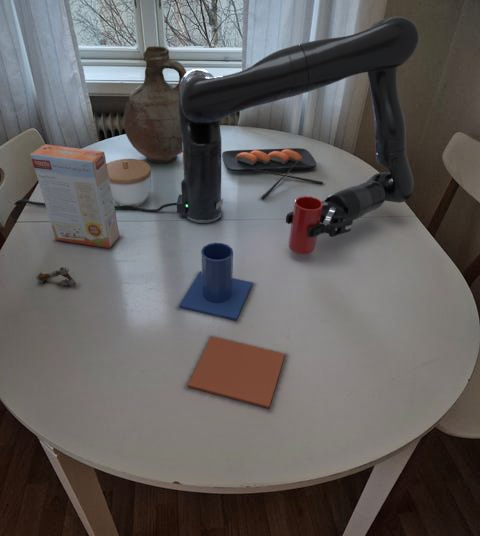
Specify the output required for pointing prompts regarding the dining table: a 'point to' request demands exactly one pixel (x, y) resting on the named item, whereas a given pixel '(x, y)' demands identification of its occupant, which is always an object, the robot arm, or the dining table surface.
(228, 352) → the terracotta mat
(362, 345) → the dining table surface
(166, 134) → the jug
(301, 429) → the dining table surface
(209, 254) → the blue cup
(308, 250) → the red cup
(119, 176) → the lidded bowl
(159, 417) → the dining table surface
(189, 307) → the blue mat
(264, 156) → the sushi plate
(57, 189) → the cracker box
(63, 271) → the chicken wing bone
